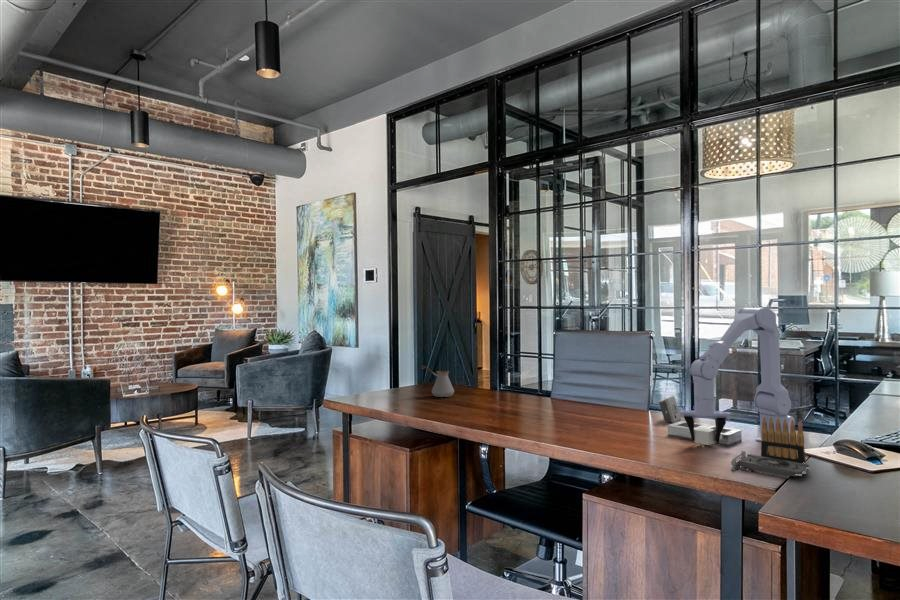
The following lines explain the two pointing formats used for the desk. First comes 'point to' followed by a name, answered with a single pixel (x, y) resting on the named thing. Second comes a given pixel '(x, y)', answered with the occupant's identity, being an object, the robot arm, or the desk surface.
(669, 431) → the socket plate
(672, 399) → the electrical switch
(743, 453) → the graphics card
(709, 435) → the plug
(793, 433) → the ammunition clip
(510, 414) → the desk surface
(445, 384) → the coffee pot
